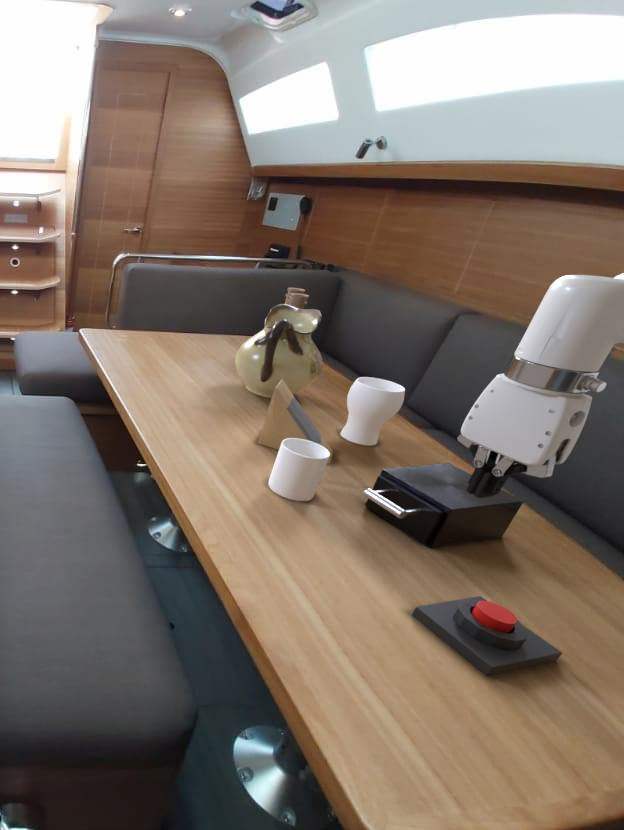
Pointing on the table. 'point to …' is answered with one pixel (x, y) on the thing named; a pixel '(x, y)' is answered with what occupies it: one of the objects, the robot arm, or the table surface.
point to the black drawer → (404, 509)
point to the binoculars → (296, 298)
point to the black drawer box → (457, 503)
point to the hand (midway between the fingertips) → (479, 493)
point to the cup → (371, 408)
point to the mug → (298, 469)
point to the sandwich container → (288, 421)
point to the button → (494, 616)
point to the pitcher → (281, 352)
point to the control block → (484, 638)
